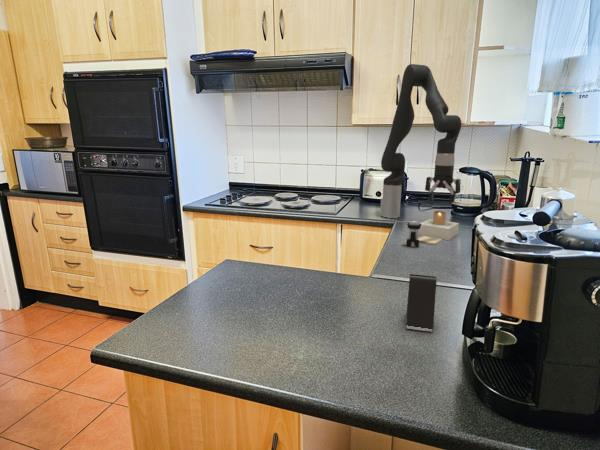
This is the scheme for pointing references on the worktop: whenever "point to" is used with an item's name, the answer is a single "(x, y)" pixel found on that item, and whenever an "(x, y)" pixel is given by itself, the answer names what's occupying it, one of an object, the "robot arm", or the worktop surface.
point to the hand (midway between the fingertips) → (441, 202)
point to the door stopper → (421, 301)
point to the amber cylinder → (439, 218)
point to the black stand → (413, 234)
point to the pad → (429, 240)
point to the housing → (438, 229)
